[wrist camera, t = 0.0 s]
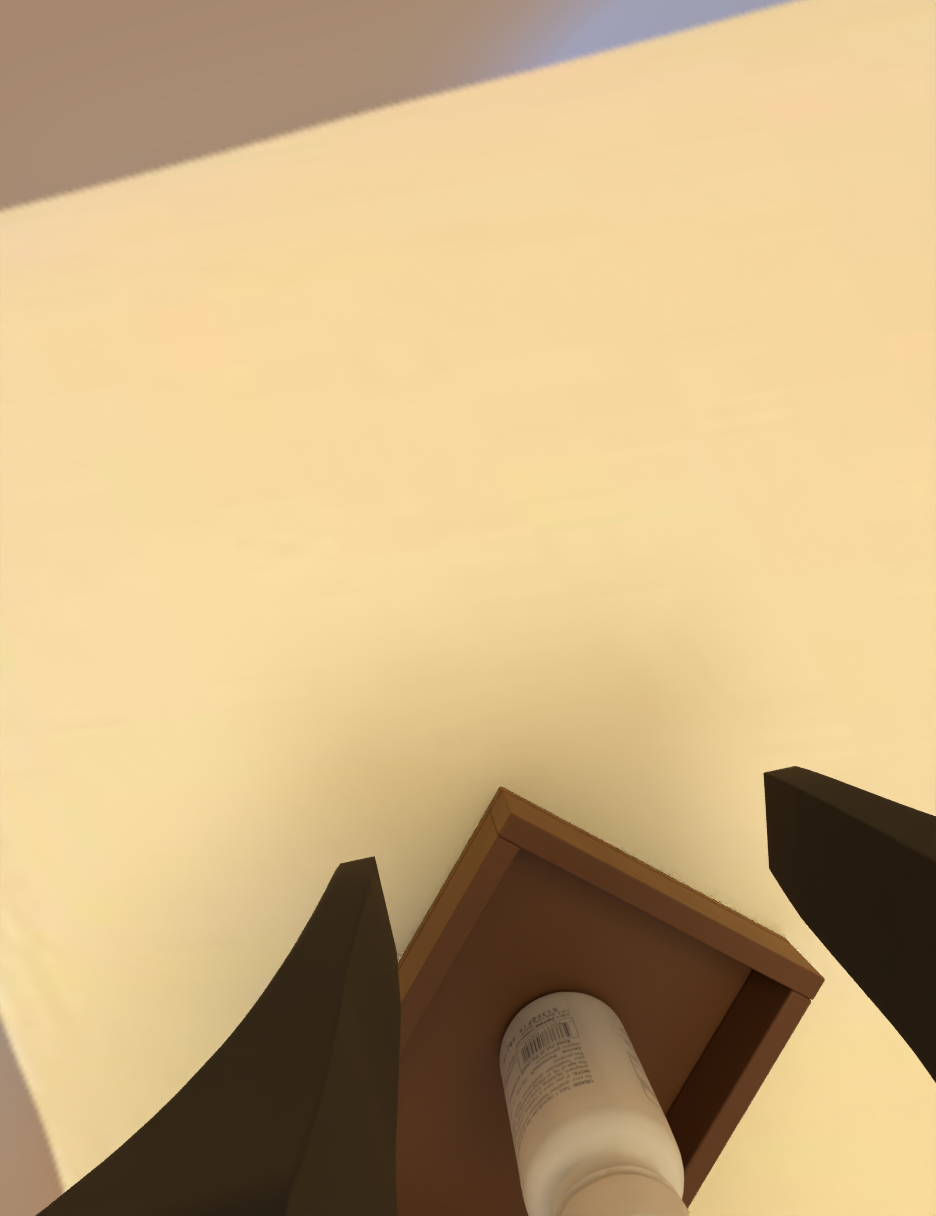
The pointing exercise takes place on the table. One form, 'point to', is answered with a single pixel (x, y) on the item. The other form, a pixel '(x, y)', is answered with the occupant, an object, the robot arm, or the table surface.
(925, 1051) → the robot arm
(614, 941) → the tray
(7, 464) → the table surface
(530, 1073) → the pill bottle
